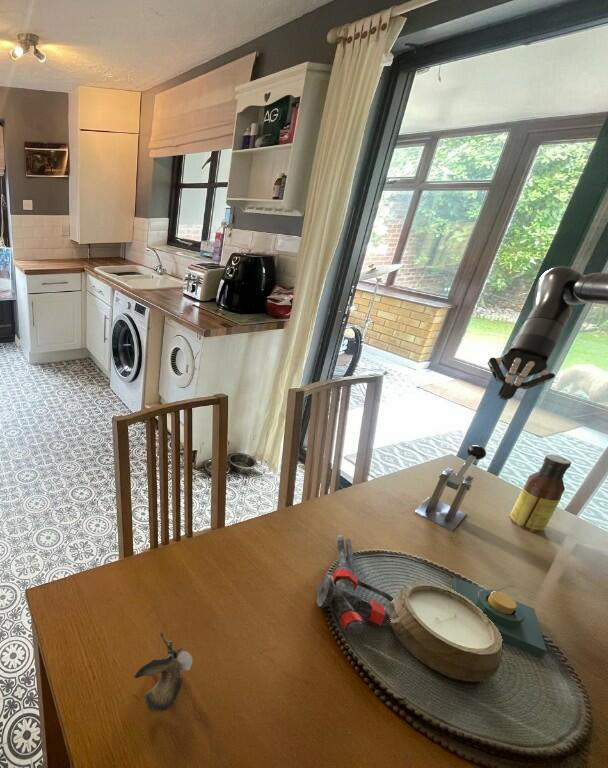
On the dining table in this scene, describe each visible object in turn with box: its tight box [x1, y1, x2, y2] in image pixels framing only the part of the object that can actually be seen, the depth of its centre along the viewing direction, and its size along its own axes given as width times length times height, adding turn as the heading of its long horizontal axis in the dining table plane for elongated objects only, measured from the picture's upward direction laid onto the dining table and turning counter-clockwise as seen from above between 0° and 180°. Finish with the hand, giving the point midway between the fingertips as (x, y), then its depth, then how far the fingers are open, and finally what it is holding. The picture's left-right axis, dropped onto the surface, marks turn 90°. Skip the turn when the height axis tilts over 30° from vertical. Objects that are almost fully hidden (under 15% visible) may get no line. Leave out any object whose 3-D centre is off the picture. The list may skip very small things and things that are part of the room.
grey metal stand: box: [413, 467, 475, 532], centre depth 101 cm, size 10×8×13 cm
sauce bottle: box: [509, 454, 572, 534], centre depth 97 cm, size 7×6×20 cm
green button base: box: [451, 577, 547, 659], centre depth 78 cm, size 12×10×4 cm
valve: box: [316, 534, 395, 635], centre depth 83 cm, size 6×26×15 cm
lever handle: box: [446, 444, 487, 491], centre depth 101 cm, size 14×4×4 cm, turn 125°
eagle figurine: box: [133, 631, 194, 712], centre depth 67 cm, size 8×7×9 cm
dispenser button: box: [488, 590, 517, 615], centre depth 77 cm, size 4×4×2 cm
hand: (503, 398), depth 104 cm, fingers closed
